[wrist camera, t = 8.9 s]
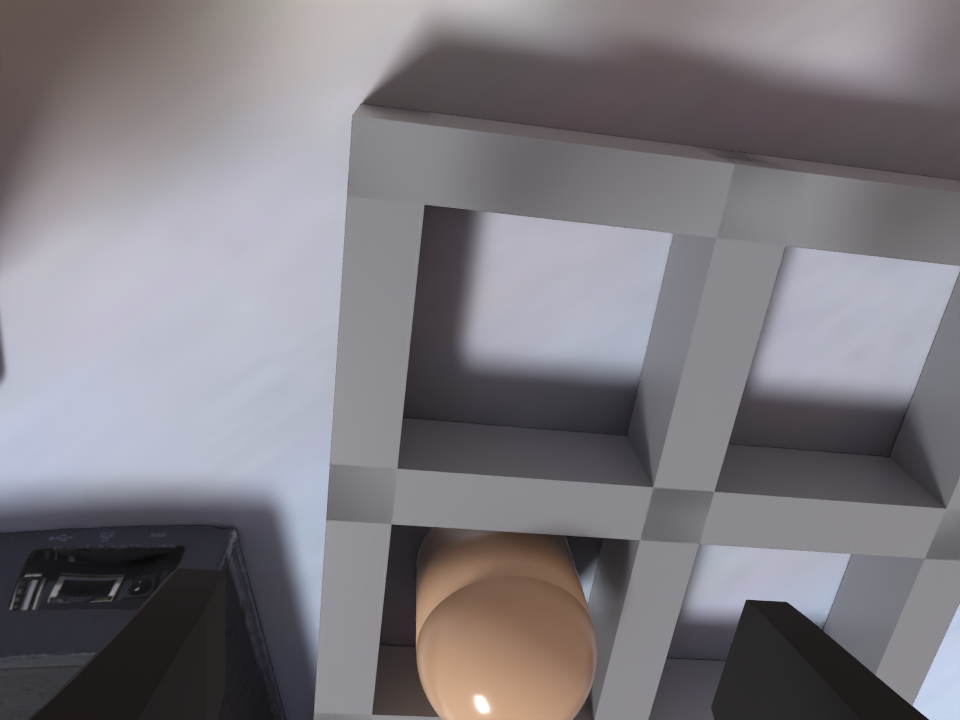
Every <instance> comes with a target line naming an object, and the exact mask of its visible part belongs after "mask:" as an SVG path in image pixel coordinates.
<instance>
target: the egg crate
mask: <svg viewBox="0 0 960 720" xmlns="http://www.w3.org/2000/svg"><path fill="white" fill-rule="evenodd" d="M424 205H432V206H441V207H449V208H458V209H467V210H476V211H484V212H493V213H502V214H511V215H519V216H528V217H537V218H546V219H554V220H563V221H572V222H580V223H589V224H598V225H607V226H615V227H624V228H633V229H642V230H650V231H659V232H668V233H674V234H673V238H672V242H671V247H670V251H669V255H668V260H667V264H666V268H665V273H664V277H663V281H662V286H661V290H660V294H659V299H658V303H657V307H656V312H655V316H654V320H653V325H652V329H651V333H650V338H649V342H648V346H647V351H646V355H645V359H644V364H643V368H642V372H641V377H640V381H639V385H638V390H637V394H636V398H635V403H634V407H633V411H632V416H631V420H630V424H629V429H628V433H627V436H622V435H609V434H597V433H585V432H572V431H560V430H548V429H535V428H523V427H511V426H498V425H486V424H473V423H461V422H449V421H436V420H424V419H412V418H403V409H404V399H405V390H406V380H407V370H408V360H409V351H410V341H411V331H412V322H413V312H414V302H415V293H416V283H417V273H418V263H419V254H420V244H421V234H422V225H423V215H424ZM785 246H790V247H799V248H808V249H816V250H825V251H834V252H843V253H851V254H860V255H869V256H878V257H886V258H895V259H904V260H913V261H921V262H930V263H939V264H948V265H956V266H960V181H959V180H952V179H944V178H936V177H928V176H921V175H913V174H905V173H897V172H889V171H882V170H874V169H866V168H858V167H851V166H843V165H835V164H827V163H820V162H812V161H804V160H796V159H789V158H781V157H773V156H765V155H758V154H750V153H742V152H734V151H727V150H719V149H711V148H703V147H696V146H688V145H680V144H672V143H665V142H657V141H649V140H641V139H634V138H626V137H618V136H610V135H603V134H595V133H587V132H579V131H572V130H564V129H556V128H548V127H540V126H533V125H525V124H517V123H509V122H502V121H494V120H486V119H478V118H471V117H463V116H455V115H447V114H440V113H432V112H424V111H416V110H409V109H401V108H393V107H385V106H378V105H370V104H362V103H361V104H360V106H359V107H358V108H357V110H356V111H355V112H354V114H353V115H352V128H351V144H350V159H349V175H348V190H347V206H346V222H345V237H344V253H343V268H342V284H341V299H340V315H339V331H338V346H337V362H336V377H335V393H334V408H333V424H332V440H331V455H330V471H329V486H328V502H327V518H326V533H325V549H324V564H323V580H322V595H321V611H320V627H319V642H318V658H317V673H316V689H315V705H314V720H442V719H441V718H440V717H439V715H438V714H437V713H436V711H435V710H434V709H433V707H432V706H431V704H430V702H429V700H428V698H427V696H426V694H425V692H424V690H423V688H422V684H421V681H420V677H419V674H418V668H417V659H416V647H407V646H385V645H379V642H380V632H381V622H382V613H383V603H384V593H385V583H386V574H387V564H388V554H389V545H390V535H391V525H392V524H395V525H411V526H426V527H442V528H457V529H473V530H489V531H504V532H520V533H535V534H551V535H566V536H582V537H598V538H603V541H602V546H601V550H600V554H599V559H598V563H597V567H596V572H595V576H594V580H593V585H592V589H591V593H590V598H589V602H588V610H589V613H590V617H591V620H592V623H593V627H594V632H595V637H596V643H597V664H596V670H595V676H594V681H593V684H592V687H591V689H590V692H589V695H588V697H587V699H586V701H585V703H584V704H583V706H582V708H581V709H580V711H579V712H578V714H577V715H576V716H575V717H574V719H573V720H714V717H713V713H712V709H711V706H712V703H713V699H714V696H715V693H716V690H717V687H718V684H719V681H720V678H721V675H722V672H723V669H724V666H725V663H726V661H715V660H693V659H671V658H666V657H667V654H668V650H669V647H670V643H671V640H672V636H673V633H674V630H675V626H676V623H677V619H678V616H679V612H680V609H681V605H682V602H683V598H684V595H685V592H686V588H687V585H688V581H689V578H690V574H691V571H692V567H693V564H694V560H695V557H696V554H697V550H698V547H699V544H706V545H722V546H738V547H753V548H769V549H784V550H800V551H815V552H831V553H847V554H852V556H851V558H850V561H849V564H848V566H847V569H846V572H845V574H844V577H843V579H842V582H841V585H840V587H839V590H838V592H837V595H836V598H835V600H834V603H833V605H832V608H831V611H830V613H829V616H828V618H827V621H826V624H825V626H824V629H823V631H824V632H825V633H826V634H827V635H829V636H830V637H831V638H832V639H833V640H835V641H836V642H837V643H838V644H839V645H841V646H842V647H843V648H844V649H845V650H846V651H848V652H849V653H850V654H851V655H852V656H853V657H855V658H856V659H857V660H858V661H859V662H861V663H862V664H863V665H864V666H865V667H866V668H868V669H869V670H870V671H871V672H872V673H873V674H875V675H876V676H877V677H878V678H879V679H881V680H882V681H883V682H884V683H885V684H886V685H888V686H889V687H890V688H891V689H892V690H894V691H895V692H896V693H897V694H898V695H900V696H901V697H902V698H903V699H904V700H906V701H907V702H908V703H909V704H910V705H912V706H913V703H914V701H915V699H916V697H917V695H918V693H919V690H920V688H921V686H922V684H923V682H924V680H925V677H926V675H927V673H928V671H929V669H930V667H931V664H932V662H933V660H934V658H935V656H936V654H937V651H938V649H939V647H940V645H941V643H942V641H943V638H944V636H945V634H946V632H947V630H948V628H949V625H950V623H951V621H952V619H953V617H954V615H955V612H956V610H957V608H958V606H959V604H960V274H959V277H958V279H957V282H956V285H955V287H954V290H953V292H952V295H951V298H950V300H949V303H948V306H947V308H946V311H945V313H944V316H943V319H942V321H941V324H940V326H939V329H938V332H937V334H936V337H935V339H934V342H933V345H932V347H931V350H930V352H929V355H928V358H927V360H926V363H925V366H924V368H923V371H922V373H921V376H920V379H919V381H918V384H917V386H916V389H915V392H914V394H913V397H912V399H911V402H910V405H909V407H908V410H907V412H906V415H905V418H904V420H903V423H902V425H901V428H900V431H899V433H898V436H897V439H896V441H895V444H894V446H893V449H892V452H891V454H890V457H881V456H869V455H857V454H844V453H832V452H820V451H807V450H795V449H782V448H770V447H758V446H745V445H733V444H728V443H729V439H730V436H731V433H732V429H733V426H734V422H735V419H736V415H737V412H738V408H739V405H740V401H741V398H742V394H743V391H744V388H745V384H746V381H747V377H748V374H749V370H750V367H751V363H752V360H753V356H754V353H755V350H756V346H757V343H758V339H759V336H760V332H761V329H762V325H763V322H764V318H765V315H766V311H767V308H768V305H769V301H770V298H771V294H772V291H773V287H774V284H775V280H776V277H777V273H778V270H779V267H780V263H781V260H782V256H783V253H784V249H785Z"/></svg>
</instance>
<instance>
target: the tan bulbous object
mask: <svg viewBox="0 0 960 720" xmlns="http://www.w3.org/2000/svg"><path fill="white" fill-rule="evenodd" d="M416 659H417V668H418V674H419V677H420V681H421V684H422V688H423V690H424V692H425V694H426V696H427V698H428V700H429V702H430V704H431V706H432V707H433V709H434V710H435V711H436V713H437V714H438V715H439V717H440V718H441V719H442V720H573V719H574V717H575V716H576V715H577V714H578V712H579V711H580V709H581V708H582V706H583V704H584V703H585V701H586V699H587V697H588V695H589V692H590V689H591V687H592V684H593V681H594V676H595V670H596V664H597V643H596V637H595V632H594V627H593V623H592V620H591V617H590V613H589V610H588V606H587V603H586V600H585V596H584V593H583V589H582V586H581V583H580V579H579V576H578V573H577V569H576V566H575V562H574V559H573V556H572V552H571V549H570V545H569V543H568V540H567V537H566V536H565V535H551V534H535V533H520V532H504V531H489V530H473V529H457V528H442V527H433V528H432V529H431V530H430V531H429V533H428V534H427V535H426V537H425V539H424V541H423V542H422V544H421V547H420V549H419V552H418V556H417V562H416Z"/></svg>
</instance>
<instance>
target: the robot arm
mask: <svg viewBox="0 0 960 720" xmlns="http://www.w3.org/2000/svg"><path fill="white" fill-rule="evenodd" d="M225 584H226V571H218V570H200V569H182V568H177V569H176V570H175V571H173V572H172V573H171V574H169V575H168V576H167V578H166V579H165V580H164V581H163V582H162V583H161V584H160V585H159V587H158V588H157V589H156V590H155V591H154V592H153V593H152V594H151V595H150V597H149V598H148V599H147V600H146V601H145V602H144V603H143V604H142V605H141V607H140V608H139V609H138V610H137V611H136V612H135V613H134V614H133V615H132V616H131V617H130V618H129V620H128V621H127V622H126V623H125V624H124V625H123V626H122V627H121V628H120V629H119V630H118V631H117V632H116V633H115V634H114V635H113V636H112V637H111V639H110V640H109V641H108V642H107V643H106V644H105V645H104V646H103V647H102V648H101V649H100V650H99V651H98V652H97V653H96V654H95V655H94V656H93V657H92V658H91V659H90V660H89V661H88V662H87V663H86V664H85V665H84V666H83V667H82V668H81V669H80V670H79V671H78V672H77V673H76V674H75V675H74V676H73V677H72V678H71V679H70V680H69V681H68V682H67V683H66V684H65V685H64V686H63V687H62V688H61V689H60V690H59V691H58V692H56V693H55V694H54V695H53V696H52V697H51V698H50V699H49V700H48V701H47V702H46V703H45V704H44V705H43V706H41V707H40V708H39V709H38V710H37V711H36V712H35V713H34V714H33V715H32V716H30V717H29V718H28V719H27V720H218V718H219V714H220V709H221V705H222V700H223V696H224V691H225ZM711 709H712V713H713V717H714V720H929V719H927V718H926V717H925V716H924V715H922V714H921V713H920V712H919V711H918V710H916V709H915V708H914V707H913V706H912V705H910V704H909V703H908V702H907V701H906V700H904V699H903V698H902V697H901V696H900V695H898V694H897V693H896V692H895V691H894V690H892V689H891V688H890V687H889V686H888V685H886V684H885V683H884V682H883V681H882V680H881V679H879V678H878V677H877V676H876V675H875V674H873V673H872V672H871V671H870V670H869V669H868V668H866V667H865V666H864V665H863V664H862V663H861V662H859V661H858V660H857V659H856V658H855V657H853V656H852V655H851V654H850V653H849V652H848V651H846V650H845V649H844V648H843V647H842V646H841V645H839V644H838V643H837V642H836V641H835V640H833V639H832V638H831V637H830V636H829V635H827V634H826V633H825V632H824V631H823V630H821V629H820V628H819V627H818V626H817V625H815V624H814V623H813V622H812V621H811V620H809V619H808V618H807V617H806V616H804V615H803V614H802V613H801V612H799V611H798V610H797V609H795V608H794V607H793V606H791V605H790V604H789V603H787V602H776V601H758V600H746V602H745V605H744V608H743V611H742V614H741V617H740V620H739V623H738V626H737V629H736V633H735V636H734V639H733V642H732V645H731V648H730V651H729V654H728V657H727V660H726V663H725V666H724V669H723V672H722V675H721V678H720V681H719V684H718V687H717V690H716V693H715V696H714V699H713V703H712V706H711Z"/></svg>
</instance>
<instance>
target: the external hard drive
mask: <svg viewBox="0 0 960 720" xmlns="http://www.w3.org/2000/svg"><path fill="white" fill-rule="evenodd" d="M236 532H237V531H236V530H235V529H233V528H227V529H220V528H217V527H211V526H198V525H197V526H150V527H146V526H141V527H113V528H92V529H63V530H49V531H35V532H19V533H7V534H0V720H27V719H28V718H29V717H30V716H32V715H33V714H34V713H35V712H36V711H37V710H38V709H39V708H40V707H41V706H43V705H44V704H45V703H46V702H47V701H48V700H49V699H50V698H51V697H52V696H53V695H54V694H55V693H56V692H58V691H59V690H60V689H61V688H62V687H63V686H64V685H65V684H66V683H67V682H68V681H69V680H70V679H71V678H72V677H73V676H74V675H75V674H76V673H77V672H78V671H79V670H80V669H81V668H82V667H83V666H84V665H85V664H86V663H87V662H88V661H89V660H90V659H91V658H92V657H93V656H94V655H95V654H96V653H97V652H98V651H99V650H100V649H101V648H102V647H103V646H104V645H105V644H106V643H107V642H108V641H109V640H110V639H111V637H112V636H113V635H114V634H115V633H116V632H117V631H118V630H119V629H120V628H121V627H122V626H123V625H124V624H125V623H126V622H127V621H128V620H129V618H130V617H131V616H132V615H133V614H134V613H135V612H136V611H137V610H138V609H139V608H140V607H141V605H142V604H143V603H144V602H145V601H146V600H147V599H148V598H149V597H150V595H151V594H152V593H153V592H154V591H155V590H156V589H157V588H158V587H159V585H160V584H161V583H162V582H163V581H164V580H165V579H166V578H167V576H168V575H169V574H171V573H172V572H173V571H175V570H176V569H177V568H182V569H200V570H218V571H226V584H225V691H224V696H223V700H222V705H221V709H220V714H219V718H218V720H285V717H284V712H283V708H282V705H281V701H280V697H279V693H278V690H277V686H276V682H275V678H274V675H273V671H272V667H271V663H270V660H269V656H268V652H267V648H266V644H265V640H264V636H263V633H262V629H261V625H260V622H259V618H258V614H257V611H256V607H255V603H254V599H253V596H252V592H251V588H250V584H249V580H248V576H247V573H246V568H245V565H244V560H243V558H242V554H241V550H240V546H239V541H238V536H237V534H236Z"/></svg>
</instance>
